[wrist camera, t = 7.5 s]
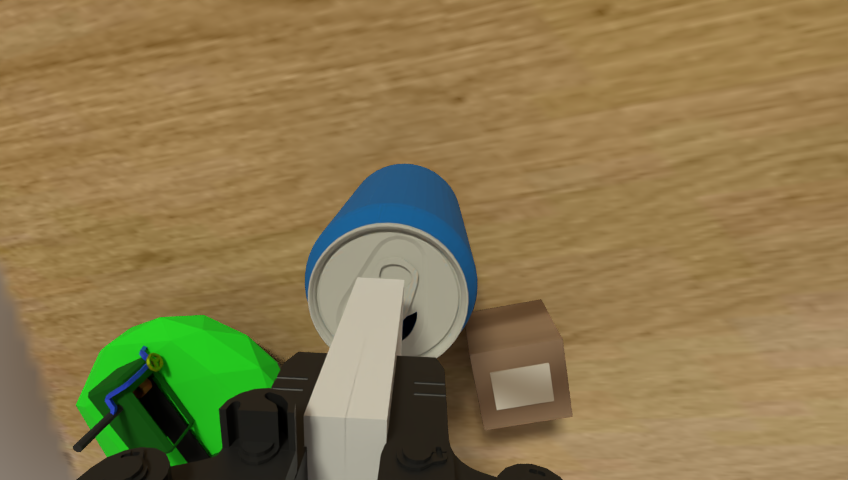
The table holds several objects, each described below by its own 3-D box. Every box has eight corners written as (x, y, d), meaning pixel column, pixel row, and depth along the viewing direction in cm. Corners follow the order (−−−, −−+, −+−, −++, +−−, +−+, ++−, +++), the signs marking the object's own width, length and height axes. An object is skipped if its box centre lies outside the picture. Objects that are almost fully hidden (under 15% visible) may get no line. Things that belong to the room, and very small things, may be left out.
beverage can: (341, 250, 28) (279, 357, 16) (366, 148, 26) (316, 187, 15) (441, 278, 28) (449, 400, 17) (473, 179, 26) (507, 241, 15)
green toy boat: (105, 328, 30) (-75, 452, 19) (255, 258, 28) (145, 353, 18) (206, 462, 33) (96, 632, 23) (347, 407, 31) (299, 564, 21)
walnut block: (463, 312, 29) (469, 355, 24) (540, 298, 29) (563, 339, 24) (476, 378, 31) (484, 431, 26) (550, 366, 30) (573, 417, 25)
